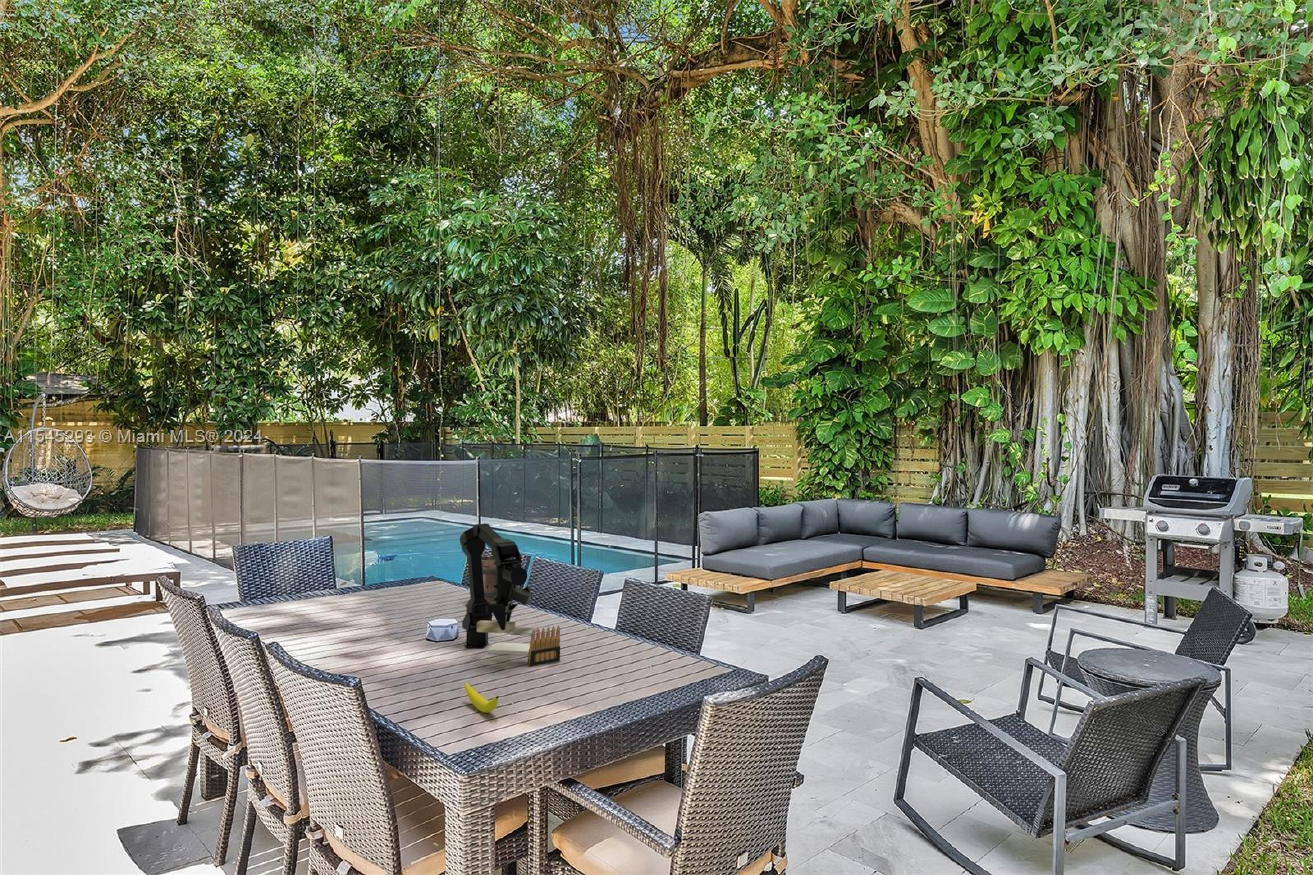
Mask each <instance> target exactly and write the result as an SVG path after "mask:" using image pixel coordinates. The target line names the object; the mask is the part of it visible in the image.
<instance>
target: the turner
mask: <svg viewBox="0 0 1313 875" xmlns="http://www.w3.org/2000/svg"><path fill="white" fill-rule="evenodd" d="M538 628H539V627H527V626H526V627H525V626H516V621H510V622H506V626H505V630H501V628H500V626H499V624H498V622H497V620H492V621H485V620H480V621H479V622H477V632H488V634H489V633H490V634H493V633H494V634H510V636H523V637H525V636H526V637H531V634H532V631H533V629H534V631H535V634H537V630H538Z"/></svg>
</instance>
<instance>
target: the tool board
mask: <svg viewBox="0 0 1313 875" xmlns="http://www.w3.org/2000/svg"><path fill="white" fill-rule="evenodd" d="M529 649H530V643H523V642H521V643H520V642H519V643H518V642H515V643H514V642H496V643H495V644H493V645H491V647H490V648H488V650H487V654H488V655H489V654H490V655H491V654H492V655H512V656H513V655H515V656H516V655H517V656H528V654H529Z"/></svg>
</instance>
